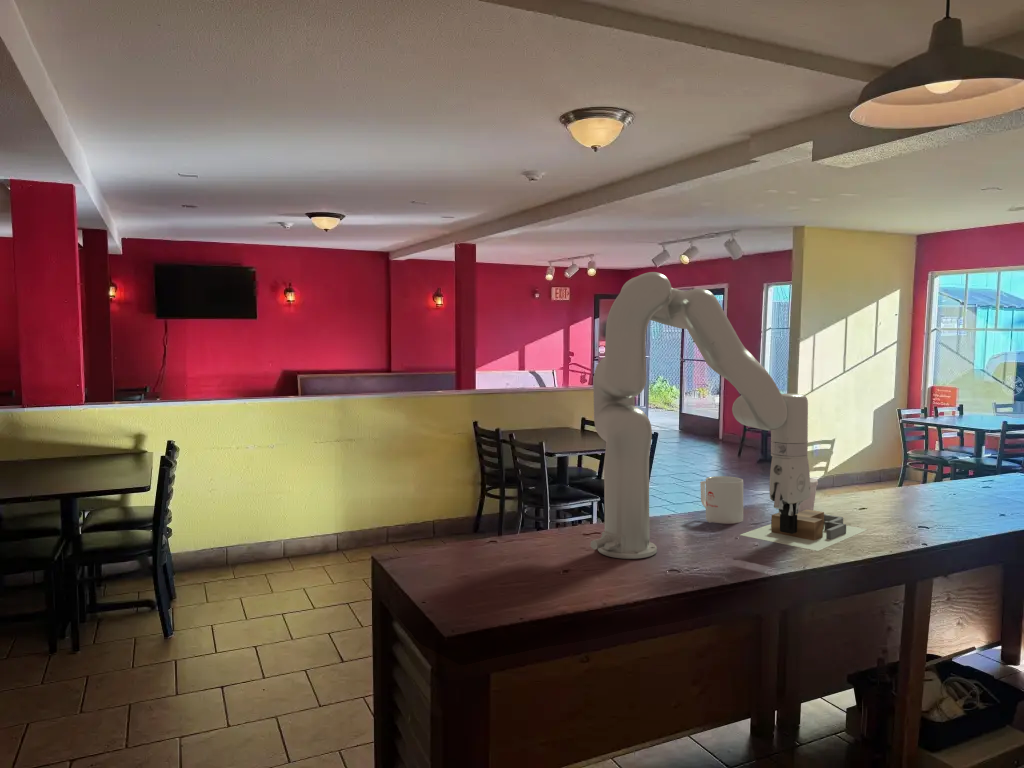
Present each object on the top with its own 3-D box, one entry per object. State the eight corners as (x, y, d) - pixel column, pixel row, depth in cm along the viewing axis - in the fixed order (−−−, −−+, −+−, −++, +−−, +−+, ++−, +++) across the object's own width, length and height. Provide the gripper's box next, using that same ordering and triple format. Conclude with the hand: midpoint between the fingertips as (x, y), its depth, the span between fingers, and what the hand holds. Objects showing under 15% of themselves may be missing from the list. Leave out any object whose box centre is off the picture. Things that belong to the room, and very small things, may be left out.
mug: (751, 525, 174) (751, 480, 173) (725, 530, 169) (725, 484, 169) (714, 515, 184) (714, 473, 183) (689, 520, 180) (689, 476, 179)
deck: (817, 556, 147) (817, 541, 147) (739, 540, 160) (739, 526, 160) (867, 534, 163) (867, 520, 163) (793, 521, 177) (793, 508, 177)
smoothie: (813, 514, 184) (813, 460, 183) (821, 520, 177) (822, 464, 177) (787, 514, 184) (788, 460, 184) (795, 520, 178) (795, 464, 177)
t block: (814, 540, 155) (814, 522, 154) (771, 532, 162) (771, 514, 162) (836, 531, 162) (837, 514, 162) (794, 523, 169) (795, 507, 169)
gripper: (788, 455, 148) (787, 541, 149) (821, 448, 158) (820, 529, 159) (755, 451, 154) (755, 535, 155) (789, 444, 164) (789, 523, 165)
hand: (788, 531), depth 157 cm, fingers closed
